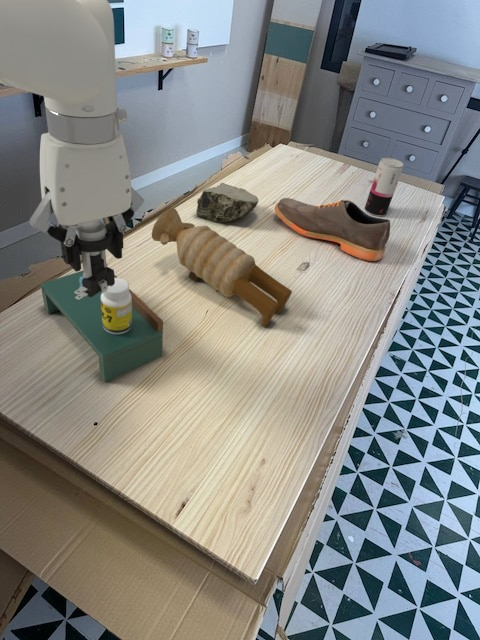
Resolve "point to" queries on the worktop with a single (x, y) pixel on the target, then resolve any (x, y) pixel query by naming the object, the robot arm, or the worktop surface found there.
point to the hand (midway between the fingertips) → (94, 258)
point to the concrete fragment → (225, 203)
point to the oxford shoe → (338, 226)
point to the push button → (94, 258)
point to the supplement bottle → (117, 307)
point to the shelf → (87, 319)
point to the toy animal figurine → (221, 264)
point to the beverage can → (383, 186)
